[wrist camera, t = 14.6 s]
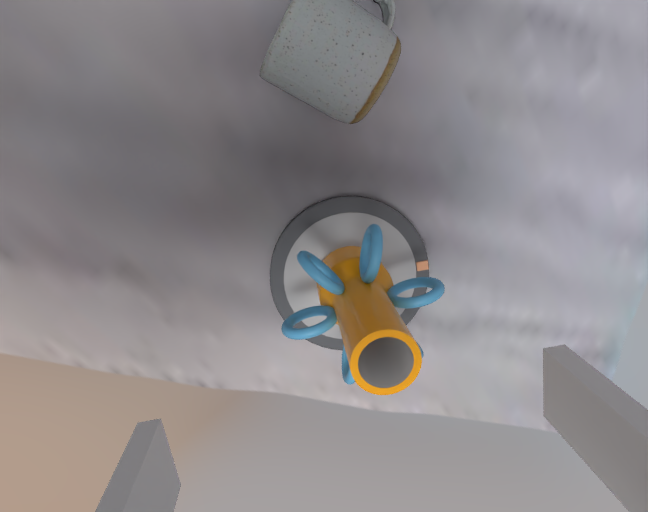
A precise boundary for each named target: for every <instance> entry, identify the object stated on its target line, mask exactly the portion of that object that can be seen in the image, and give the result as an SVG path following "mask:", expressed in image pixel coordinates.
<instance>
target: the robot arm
mask: <svg viewBox="0 0 648 512" xmlns="http://www.w3.org/2000/svg"><path fill="white" fill-rule="evenodd" d="M543 403H544V417H545V418H546V419H547V420H548V422H549V423H550V424H551V425H552V426H553V427H554V428H555V429H556V431H557V432H558V433H559V434H560V435H561V436H562V437H563V438H564V439H565V441H566V442H567V443H568V444H569V445H570V446H571V447H572V448H573V449H574V451H575V452H576V453H577V454H578V455H579V456H580V457H581V458H582V460H583V461H584V462H585V463H586V464H587V465H588V466H589V467H590V469H591V470H592V471H593V472H594V473H595V474H596V475H597V476H598V478H599V479H600V480H601V481H602V482H603V483H604V484H605V485H606V486H607V488H608V489H609V490H610V491H611V492H612V493H613V494H614V495H615V497H616V498H617V499H618V500H619V501H620V502H621V503H622V504H623V506H624V507H625V508H626V509H627V510H628V511H629V512H648V410H647V409H646V408H645V407H643V406H642V405H641V404H640V403H638V402H637V401H636V400H634V399H633V398H632V397H631V396H629V395H628V394H627V393H625V392H624V391H623V390H622V389H621V388H619V387H618V386H617V385H615V384H614V383H613V382H612V381H610V380H609V379H608V378H606V377H605V376H604V375H603V374H601V373H600V372H599V371H598V370H596V369H595V368H594V367H592V366H591V365H590V364H589V363H587V362H586V361H585V360H584V359H582V358H581V357H580V356H578V355H577V354H576V353H575V352H573V351H572V350H571V349H569V348H568V347H567V346H566V345H560V346H554V347H549V348H543ZM180 487H181V483H180V480H179V477H178V473H177V470H176V467H175V464H174V460H173V457H172V454H171V451H170V447H169V444H168V441H167V437H166V434H165V431H164V427H163V424H162V421H161V419H156V420H150V421H145V422H140V423H137V425H136V427H135V430H134V432H133V434H132V436H131V438H130V440H129V442H128V444H127V446H126V448H125V451H124V452H123V455H122V457H121V459H120V461H119V463H118V465H117V467H116V469H115V471H114V473H113V475H112V478H111V480H110V482H109V484H108V486H107V488H106V490H105V492H104V494H103V496H102V498H101V500H100V503H99V505H98V507H97V509H96V511H95V512H174V508H175V505H176V501H177V497H178V494H179V490H180Z"/></svg>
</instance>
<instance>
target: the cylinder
mask: <svg viewBox="0 0 648 512" xmlns="http://www.w3.org/2000/svg"><path fill="white" fill-rule="evenodd" d="M382 250H383V235H382V230H381V228H380V226H379V225H377V224H371V225H370V226H369V227H368V228H367V230H366V232H365V234H364V237H363V241H362V246H361V247H359V246H345V247H341V248H338V249H336V250H334V251H333V252H331V253H330V254H328V255H327V256H326V257H325V258H324V260H323V261H321V260H320V259H319V258H317V257H316V256H315V255H313V254H311V253H310V252H308V251H300V252H299V253H298V254H297V260H298V262H299V264H300V265H301V267H302V268H303V269H304V270H305V272H306V273H307V274H308V275H309V276H310V277H311V278H312V279H314V280H315V281H316V283H317V290H318V295H319V301H320V304H321V306H312V307H308V308H305V309H302V310H299V311H297V312H295V313H293V314H292V315H290V316H289V317H288V318H287V319H286V320H285V321H284V322H283V324H282V332H283V334H284V335H285V336H286V337H288V338H290V339H297V340H300V339H308V338H312V337H315V336H318V335H321V334H323V333H325V332H326V331H328V330H329V329H331V328H332V327H333V326H334V325H335V324H337V325H339V328H340V332H341V336H342V340H343V344H344V345H343V352H342V375H343V379H344V381H345V382H346V383H347V384H353V383H354V382H356V383H357V384H358V385H359V386H360V387H361V388H362V389H364V390H365V391H367V392H370V393H373V394H377V395H389V394H394V393H397V392H399V391H401V390H403V389H405V388H407V387H408V386H409V385H410V384H411V383H412V382H413V381H414V380H415V378H416V377H417V375H418V373H419V371H420V368H421V363H422V358H423V351H422V349H421V347H420V346H419V345H418V343H417V342H416V341H415V340H414V338H413V336H412V335H411V333H410V331H409V330H408V328H407V326H406V325H405V323H404V321H403V320H402V318H401V317H400V315H399V313H398V312H397V310H396V308H395V307H397V308H405V309H408V308H417V307H422V306H425V305H428V304H431V303H433V302H435V301H436V300H438V299H439V298H440V297H441V296H442V295H443V293H444V289H445V288H444V285H443V283H442V282H441V281H440V280H438V279H436V278H431V277H417V278H411V279H407V280H404V281H401V282H399V283H397V284H395V285H394V284H393V281H392V278H391V276H390V274H389V272H388V271H387V270H386V268H385V267H384V265H383V264H382V263H381V258H382ZM418 287H429V288H433V289H432V290H431V291H430V292H428V293H426V294H423V295H420V296H416V297H407V298H404V297H398V296H397V295H399V294H400V293H402V292H404V291H406V290H409V289H413V288H418ZM314 316H327V318H326V319H325V320H323V321H322V322H320V323H318V324H316V325H313V326H310V327H306V328H293V326H294V325H295V324H297V323H298V322H300V321H302V320H304V319H307V318H310V317H314Z"/></svg>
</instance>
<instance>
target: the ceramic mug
mask: <svg viewBox="0 0 648 512" xmlns="http://www.w3.org/2000/svg"><path fill="white" fill-rule="evenodd" d="M374 1H376V2H377V3H379V4H380V6H381V9H382V12H383V18H384V20H383V22H382V21H380V20H379V19H378V18H376V17H375V16H373V15H372V14H370V13H369V12H367V11H366V10H364V9H363V8H361V7H360V6H359V5H358V4H356V3H355V2H354V1H352V0H292V1H291V3H290V5H289V7H288V9H287V11H286V13H285V15H284V17H283V19H282V21H281V24H280V26H279V28H278V30H277V32H276V34H275V36H274V38H273V40H272V42H271V44H270V46H269V48H268V51H267V53H266V57H265V59H264V61H263V64H262V66H261V70H260V76H261V78H262V79H264V80H266V81H268V82H269V83H271V84H273V85H275V86H277V87H278V88H280V89H282V90H284V91H285V92H287V93H289V94H291V95H293V96H294V97H296V98H298V99H300V100H302V101H303V102H305V103H307V104H309V105H311V106H312V107H314V108H316V109H318V110H319V111H321V112H323V113H325V114H326V115H328V116H330V117H332V118H334V119H336V120H339V121H342V122H344V123H348V124H353V123H356V122H359V121H360V120H362V119H363V118H364V117H365V116H366V115H367V113H368V112H369V111H370V109H371V108H372V107H373V105H374V104H375V102H376V101H377V99H378V98H379V96H380V95H381V93H382V91H383V90H384V88H385V86H386V85H387V83H388V81H389V79H390V77H391V75H392V73H393V71H394V69H395V67H396V64H397V62H398V59H399V56H400V53H401V43H400V41H399V39H398V37H397V36H396V35H395V34H394V33H393V32H392V30H391V28H392V26H393V22H394V18H395V3H394V0H374Z"/></svg>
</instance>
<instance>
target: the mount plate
mask: <svg viewBox="0 0 648 512" xmlns="http://www.w3.org/2000/svg"><path fill="white" fill-rule="evenodd" d="M371 224H377V225H379V226H380V228H381V230H382V235H383V250H382V258H381V263H382V264H383V265H384V267H385V268H386V270H387V271H388V272H389V274H390V276H391V278H392V281H393V284H394V285H395V284H397V283H399V282H401V281H404V280H407V279H411V278H417V277H429V263H428V257H427V253H426V249H425V246H424V244H423V242H422V239H421V237H420V235H419V234H418V232H417V231H416V229H415V228H414V227H413V226H412V224H411V223H410V222H409V221H408V220H407V219H406V218H405V217H404V216H402V215H401V214H400V213H399V212H397V211H396V210H395V209H393V208H391V207H390V206H388V205H386V204H384V203H382V202H380V201H377V200H374V199H371V198H366V197H360V196H342V197H335V198H331V199H327V200H324V201H321V202H319V203H316V204H314V205H313V206H311V207H309V208H307V209H306V210H304V211H303V212H301V213H300V214H299V215H298V216H297V217H296V218H294V219H293V220H292V221H291V222H290V224H289V225H288V226H287V227H286V228H285V230H284V231H283V233H282V235H281V236H280V238H279V240H278V242H277V244H276V246H275V249H274V253H273V256H272V261H271V268H270V286H271V292H272V296H273V300H274V303H275V305H276V307H277V309H278V311H279V313H280V315H281V316H282V318H283V319H284V320H286V319H287V318H288V317H289V316H290V315H292V314H293V313H295V312H297V311H299V310H302V309H305V308H308V307H312V306H321V304H320V301H319V295H318V290H317V283H316V281H315V280H314V279H312V278H311V277H310V276H309V275H308V274H307V273H306V272H305V270H304V269H303V268H302V267H301V265H300V264H299V262H298V260H297V254H298V253H299V252H300V251H308V252H310V253H311V254H313V255H315V256H316V257H317V258H319V259H320V260H321V261H323V260H324V258H325V257H326V256H327V255H328V254H330V253H331V252H333V251H334V250H336V249H338V248H341V247H345V246H359V247H361V246H362V241H363V237H364V234H365V232H366V230H367V228H368V227H369V226H370V225H371ZM426 290H427V287H418V288H413V289H409V290H406V291H404V292H402V293H400V294H399V295H397V296H398V297H404V298H407V297H416V296H420V295H423V294H426ZM395 308H396V310H397V312H398V313H399V315H400V317H401V318H402V320H403V321H404V323H405V325H407V324H408V323H409V322H410V321H411V319H412V318H413V317H414V315H415V314H416V312H417V311H418V309H419V307H417V308H408V309H405V308H397V307H395ZM326 318H327V316H314V317H310V318H307V319H304V320H302V321H300V322H298V323H297V324H295V325H294V326H293V328H306V327H310V326H313V325H316V324H318V323H320V322H322V321H323V320H325V319H326ZM306 340H308V341H310V342H312V343H314V344H316V345H319V346H321V347H325V348H329V349H335V350H343V345H344V344H343V340H342V336H341V332H340V328H339V325H337V324H335V325H334V326H333V327H332V328H331V329H329V330H328V331H326V332H325V333H323V334H321V335H318V336H315V337H312V338H308V339H306Z"/></svg>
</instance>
